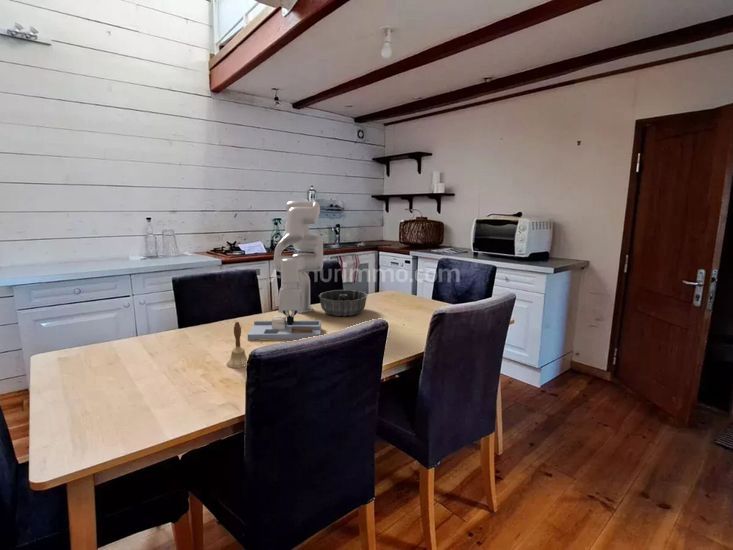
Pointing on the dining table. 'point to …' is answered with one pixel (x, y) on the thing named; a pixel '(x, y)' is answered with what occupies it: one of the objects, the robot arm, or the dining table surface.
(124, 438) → the dining table surface
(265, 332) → the tray
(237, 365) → the hand bell
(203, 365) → the dining table surface
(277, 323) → the cream block
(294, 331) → the crook tool
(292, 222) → the robot arm
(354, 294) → the bundt pan
